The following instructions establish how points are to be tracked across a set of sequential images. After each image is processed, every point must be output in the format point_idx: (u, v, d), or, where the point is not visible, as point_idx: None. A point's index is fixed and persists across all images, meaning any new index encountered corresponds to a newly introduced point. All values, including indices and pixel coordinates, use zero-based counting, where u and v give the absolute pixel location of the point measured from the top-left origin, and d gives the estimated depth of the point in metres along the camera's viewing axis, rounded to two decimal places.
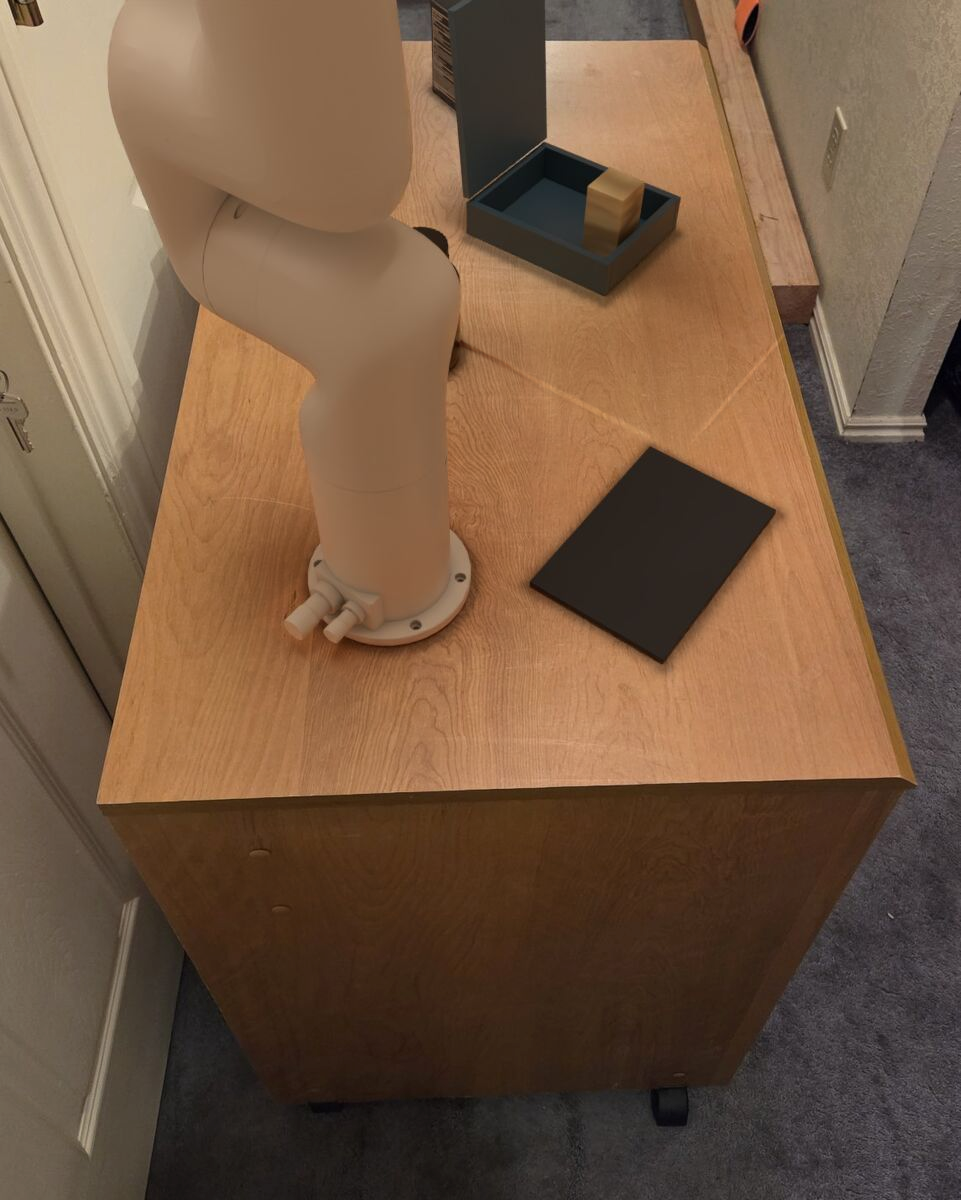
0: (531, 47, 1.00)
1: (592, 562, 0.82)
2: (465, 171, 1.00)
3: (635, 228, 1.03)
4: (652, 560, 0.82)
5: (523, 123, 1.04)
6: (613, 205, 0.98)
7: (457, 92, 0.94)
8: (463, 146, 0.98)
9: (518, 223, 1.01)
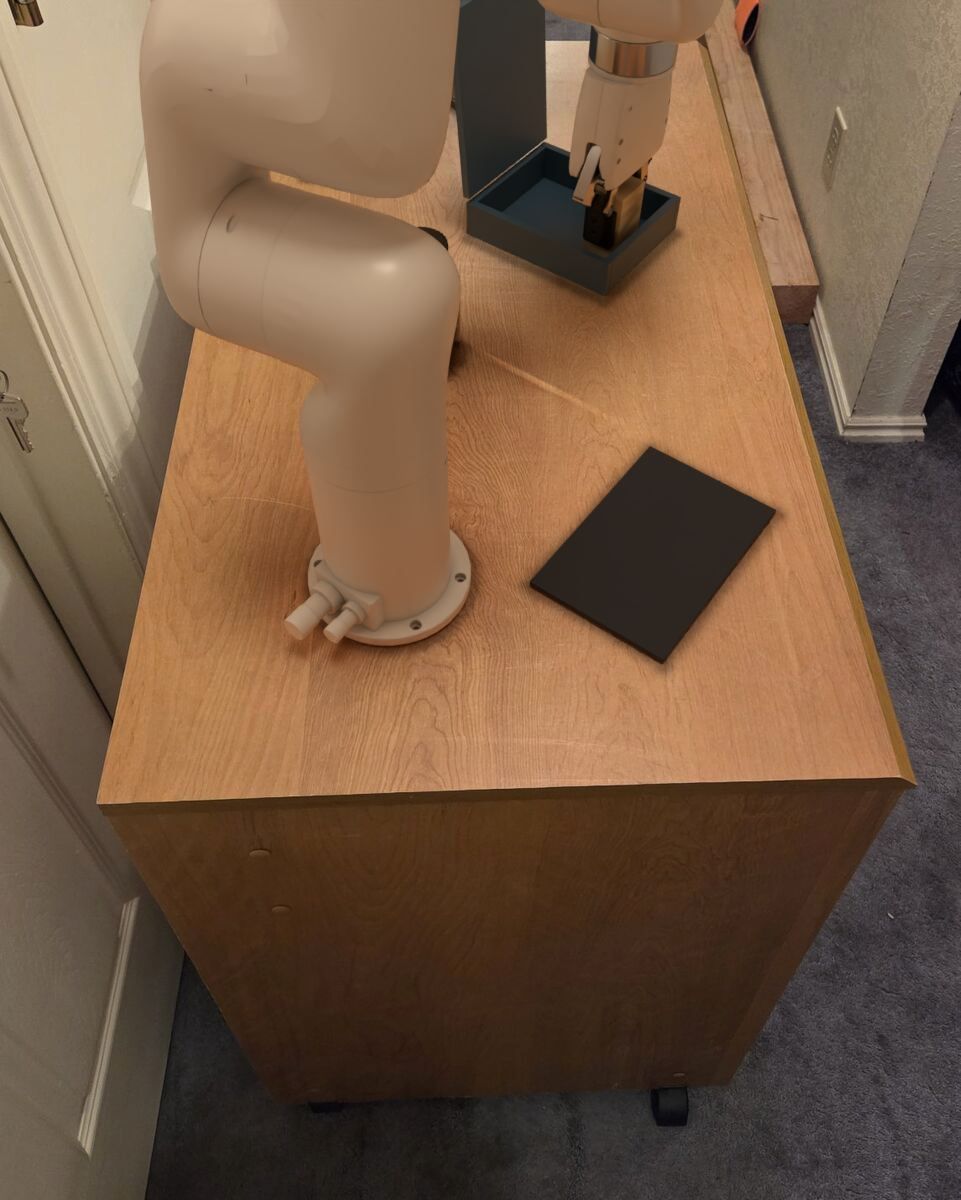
0: (531, 47, 1.00)
1: (592, 562, 0.82)
2: (465, 171, 1.00)
3: (635, 228, 1.03)
4: (652, 560, 0.82)
5: (523, 123, 1.04)
6: None
7: (457, 92, 0.94)
8: (463, 146, 0.98)
9: (518, 223, 1.01)
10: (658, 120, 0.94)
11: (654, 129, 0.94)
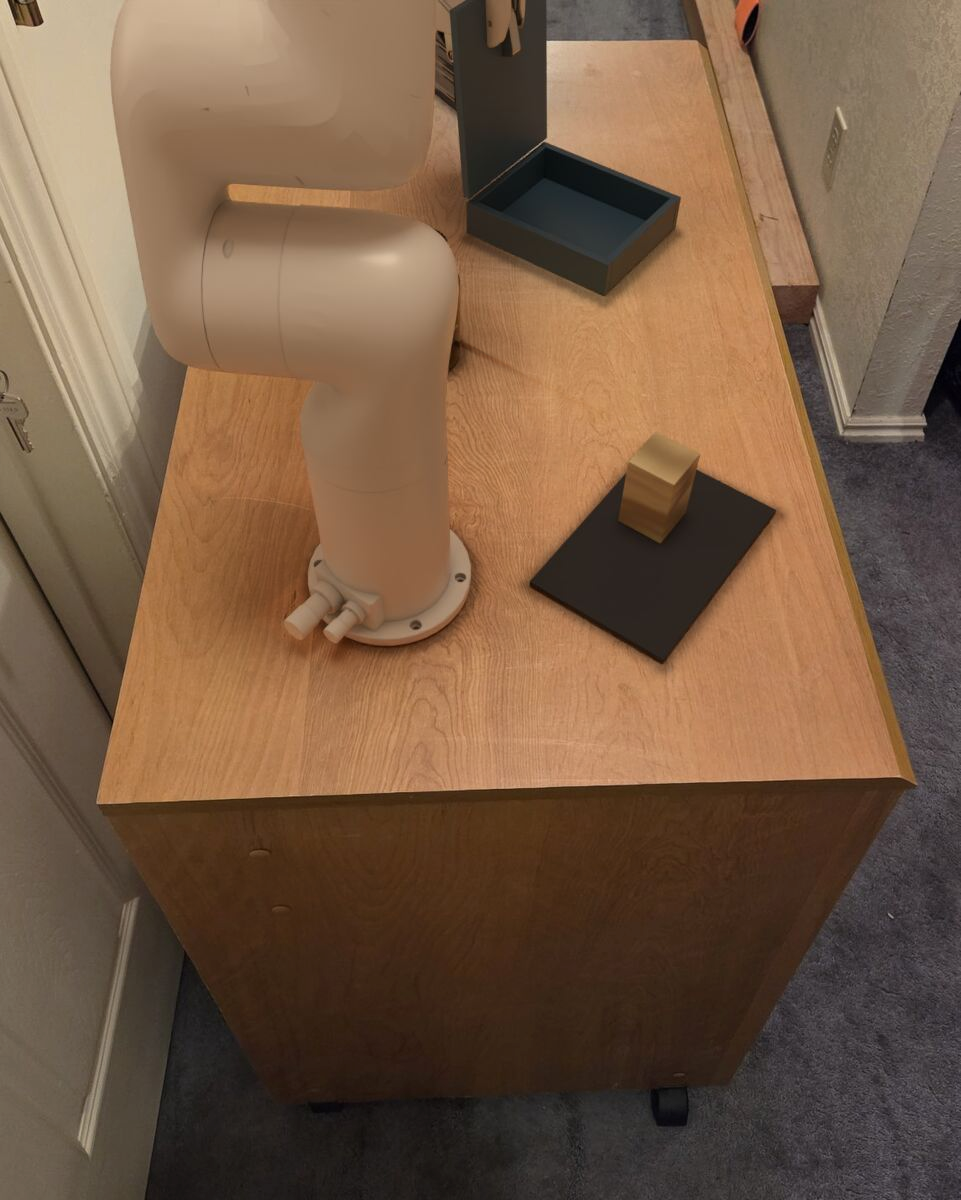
0: (532, 47, 1.00)
1: (592, 562, 0.82)
2: (465, 171, 1.00)
3: (686, 500, 0.82)
4: (652, 560, 0.82)
5: (523, 123, 1.04)
6: (661, 487, 0.78)
7: (458, 92, 0.94)
8: (464, 147, 0.98)
9: (518, 223, 1.01)
10: None
11: None
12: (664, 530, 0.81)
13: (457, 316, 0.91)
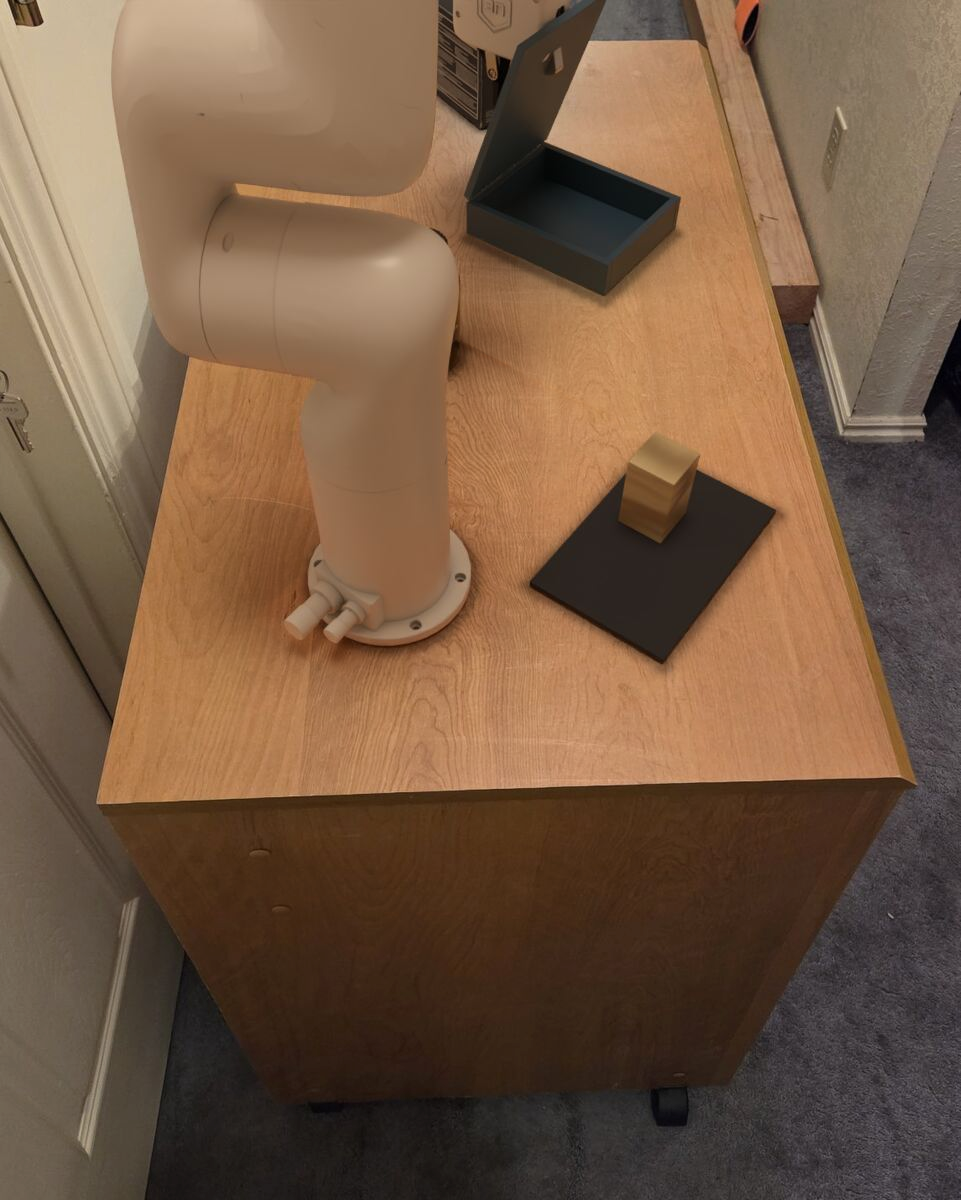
0: (567, 68, 0.99)
1: (592, 562, 0.82)
2: (475, 177, 1.00)
3: (686, 500, 0.82)
4: (652, 560, 0.82)
5: (534, 131, 1.04)
6: (661, 487, 0.78)
7: (496, 114, 0.93)
8: (482, 158, 0.98)
9: (518, 223, 1.01)
10: None
11: None
12: (664, 530, 0.81)
13: (457, 316, 0.91)
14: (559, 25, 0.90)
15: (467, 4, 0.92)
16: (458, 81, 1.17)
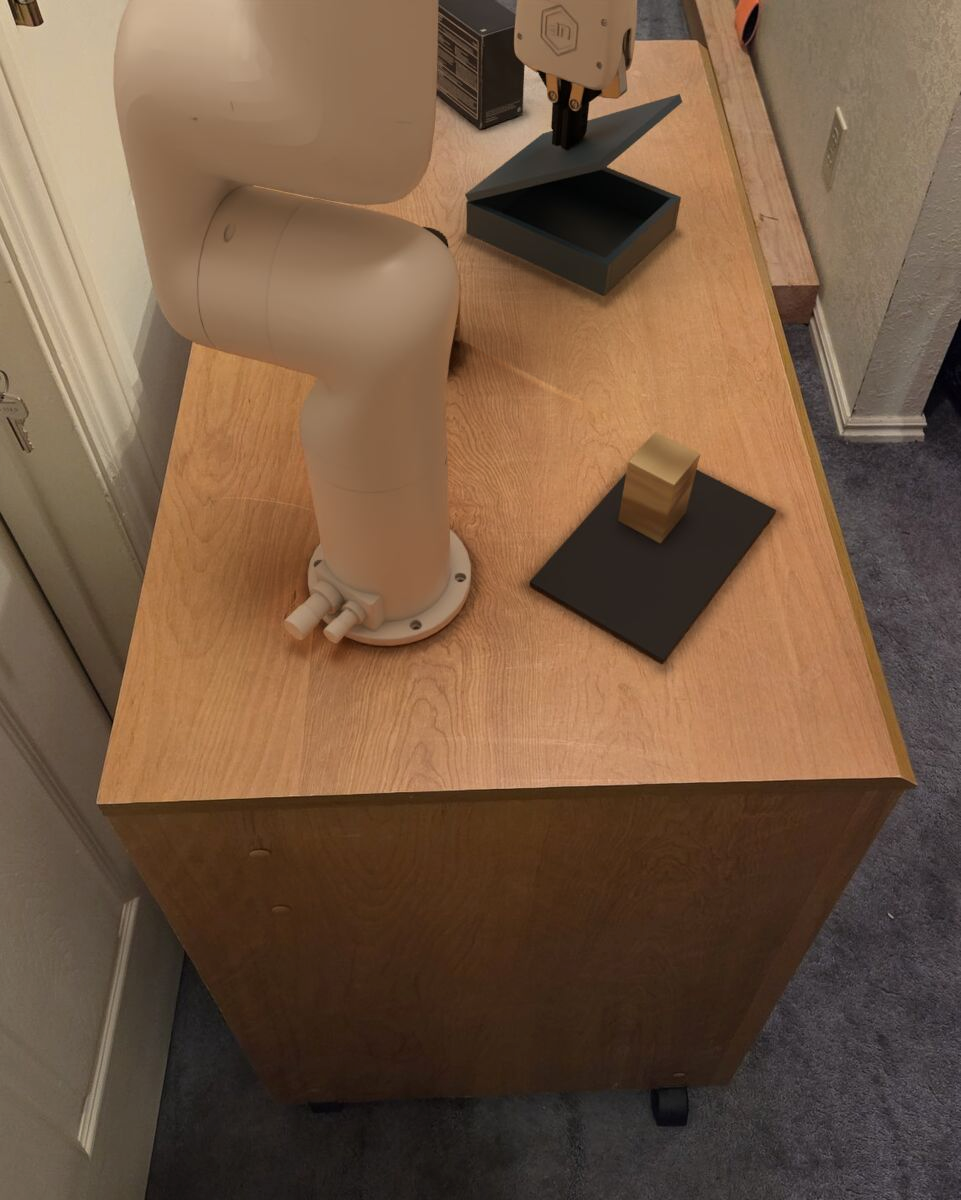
0: None
1: (592, 562, 0.82)
2: (486, 194, 1.01)
3: (686, 500, 0.82)
4: (652, 560, 0.82)
5: None
6: (661, 487, 0.78)
7: (543, 179, 0.95)
8: (505, 191, 0.99)
9: (518, 223, 1.01)
10: None
11: None
12: (664, 530, 0.81)
13: (457, 316, 0.91)
14: (636, 140, 0.93)
15: (530, 26, 0.90)
16: (458, 81, 1.17)
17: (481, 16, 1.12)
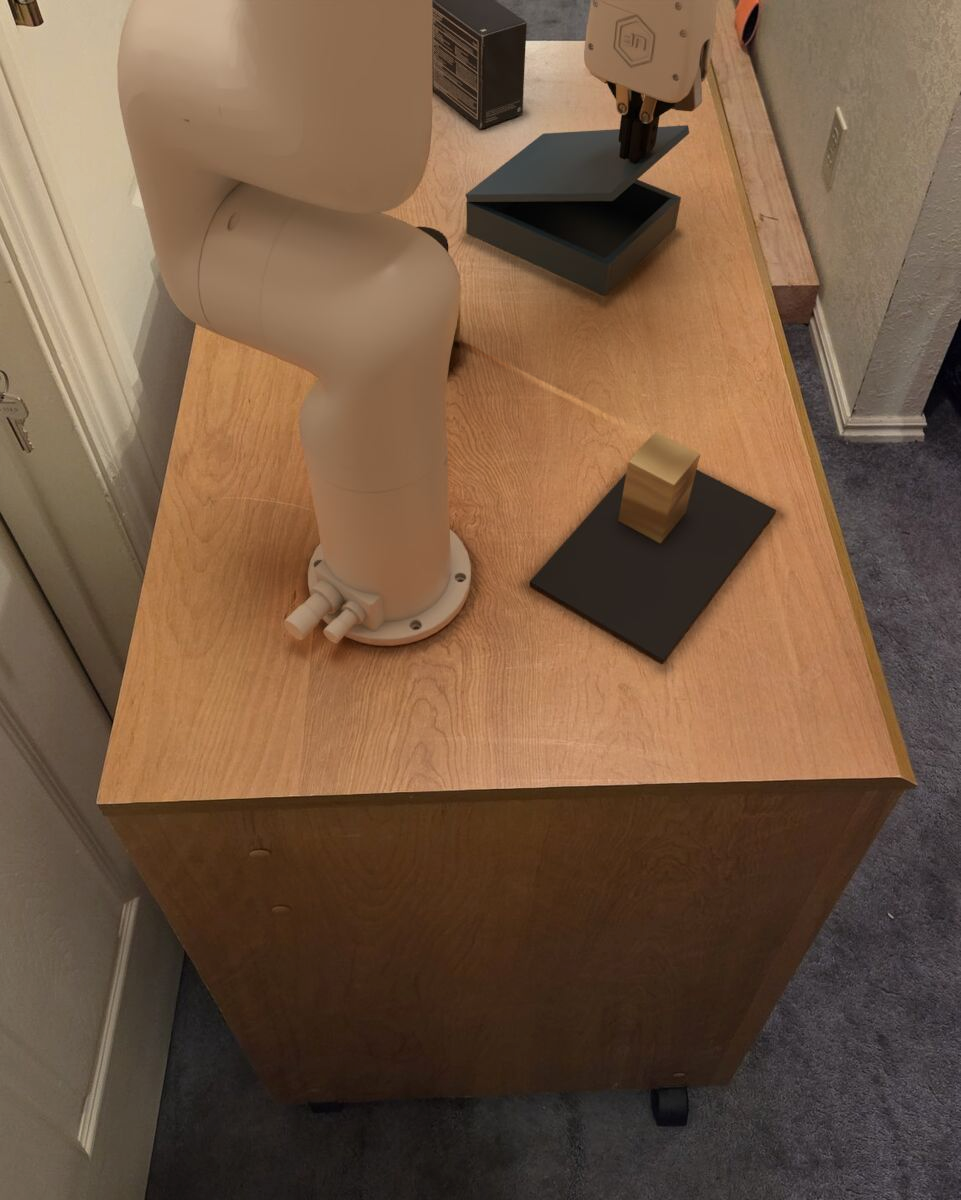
0: None
1: (592, 562, 0.82)
2: (488, 199, 1.01)
3: (686, 500, 0.82)
4: (652, 560, 0.82)
5: None
6: (661, 487, 0.78)
7: (549, 197, 0.96)
8: (508, 200, 0.99)
9: (518, 223, 1.01)
10: None
11: None
12: (664, 530, 0.81)
13: None
14: (644, 172, 0.94)
15: (603, 36, 0.87)
16: (458, 81, 1.17)
17: (481, 16, 1.12)
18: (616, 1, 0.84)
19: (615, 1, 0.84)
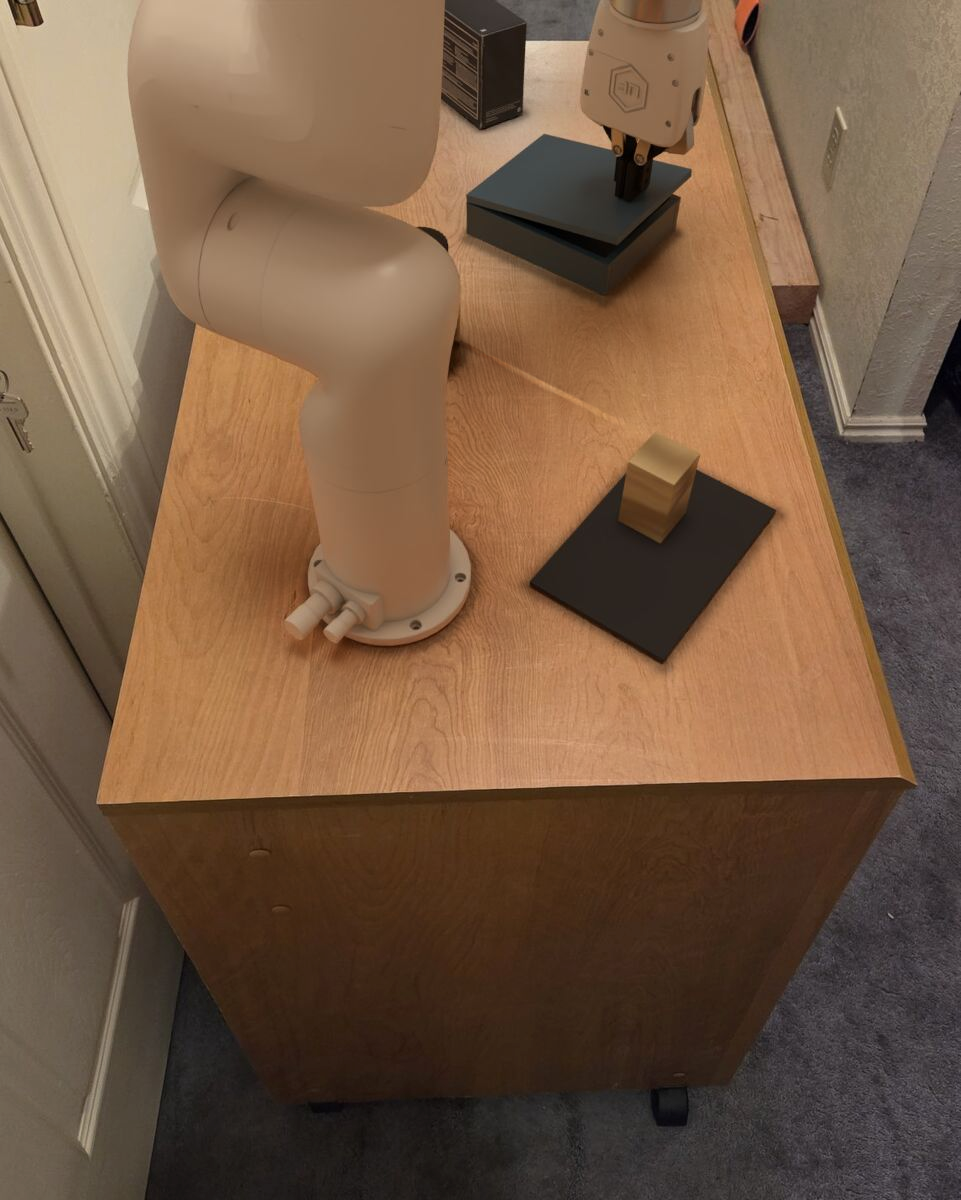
0: None
1: (592, 562, 0.82)
2: (489, 206, 1.01)
3: (686, 500, 0.82)
4: (652, 560, 0.82)
5: None
6: (661, 487, 0.78)
7: (553, 223, 0.98)
8: (510, 212, 1.00)
9: (518, 223, 1.01)
10: None
11: None
12: (664, 530, 0.81)
13: None
14: (647, 216, 0.97)
15: (598, 83, 0.90)
16: (458, 81, 1.17)
17: (481, 16, 1.12)
18: (611, 51, 0.87)
19: (610, 51, 0.87)
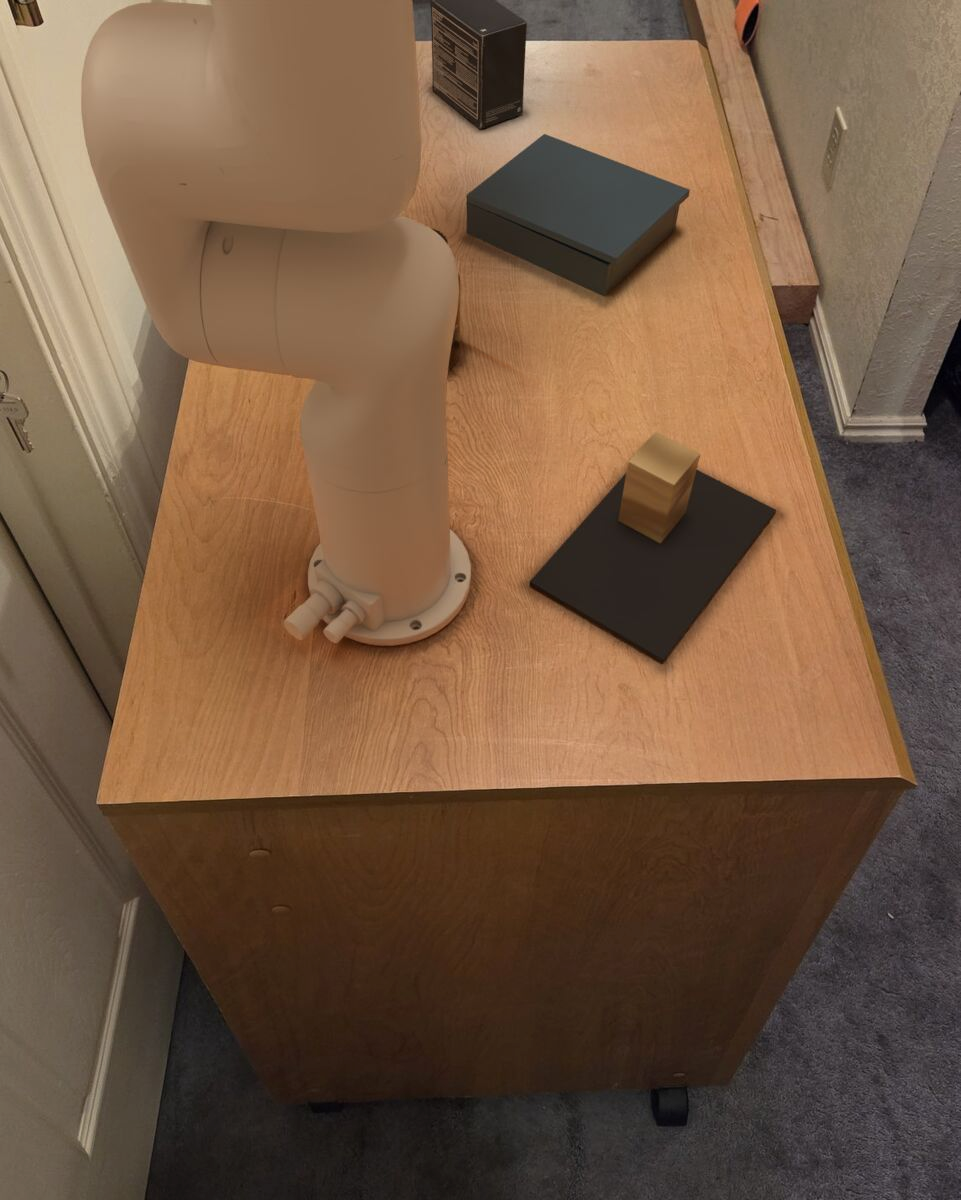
0: None
1: (592, 562, 0.82)
2: (489, 209, 1.02)
3: (686, 500, 0.82)
4: (652, 560, 0.82)
5: None
6: (661, 487, 0.78)
7: (553, 235, 0.99)
8: (510, 218, 1.01)
9: None
10: None
11: None
12: (664, 530, 0.81)
13: (457, 316, 0.91)
14: (645, 236, 0.99)
15: None
16: (458, 81, 1.17)
17: (481, 16, 1.12)
18: None
19: None
